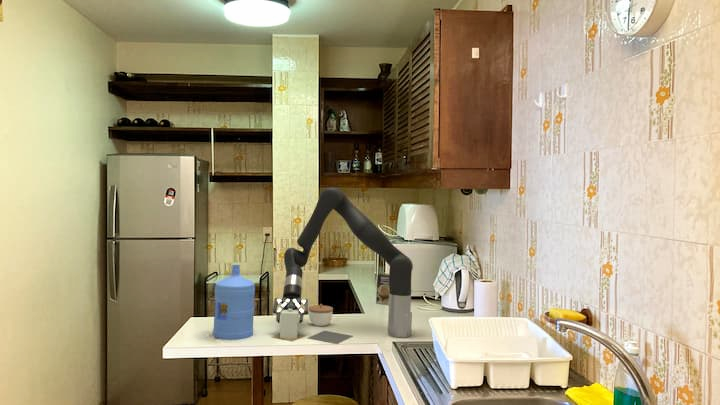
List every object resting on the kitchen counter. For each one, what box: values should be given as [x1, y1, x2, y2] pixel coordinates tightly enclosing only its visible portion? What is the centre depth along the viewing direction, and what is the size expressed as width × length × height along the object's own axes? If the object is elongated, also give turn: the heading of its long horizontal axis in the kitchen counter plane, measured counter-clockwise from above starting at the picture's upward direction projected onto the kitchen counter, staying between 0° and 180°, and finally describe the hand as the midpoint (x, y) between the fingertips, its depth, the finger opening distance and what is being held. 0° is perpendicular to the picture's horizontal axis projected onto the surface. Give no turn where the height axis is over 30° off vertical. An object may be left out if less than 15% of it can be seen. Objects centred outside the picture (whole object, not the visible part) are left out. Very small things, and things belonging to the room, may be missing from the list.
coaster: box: [271, 333, 306, 342], centre depth 197 cm, size 10×10×1 cm
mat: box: [306, 330, 354, 345], centre depth 199 cm, size 14×14×1 cm
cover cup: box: [279, 308, 300, 340], centre depth 198 cm, size 7×7×11 cm
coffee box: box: [375, 272, 389, 306], centre depth 272 cm, size 9×6×16 cm
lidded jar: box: [308, 303, 334, 327], centre depth 219 cm, size 11×11×9 cm
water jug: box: [212, 264, 256, 340], centre depth 198 cm, size 16×16×28 cm
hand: (289, 322), depth 196 cm, fingers open, 8 cm apart
